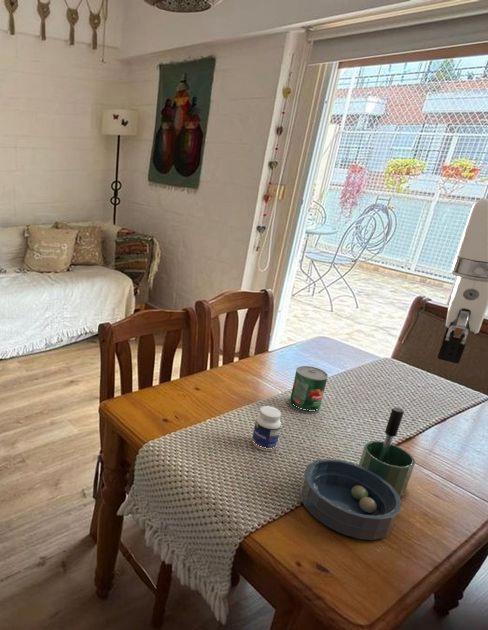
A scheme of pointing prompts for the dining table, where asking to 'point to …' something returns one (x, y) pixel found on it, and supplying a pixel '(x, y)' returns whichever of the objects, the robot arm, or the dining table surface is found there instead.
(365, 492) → the ball
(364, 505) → the ball
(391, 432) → the black-handled disc rod
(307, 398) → the canned tomato
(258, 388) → the dining table surface
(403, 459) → the cup
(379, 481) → the bowl
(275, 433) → the pill bottle
